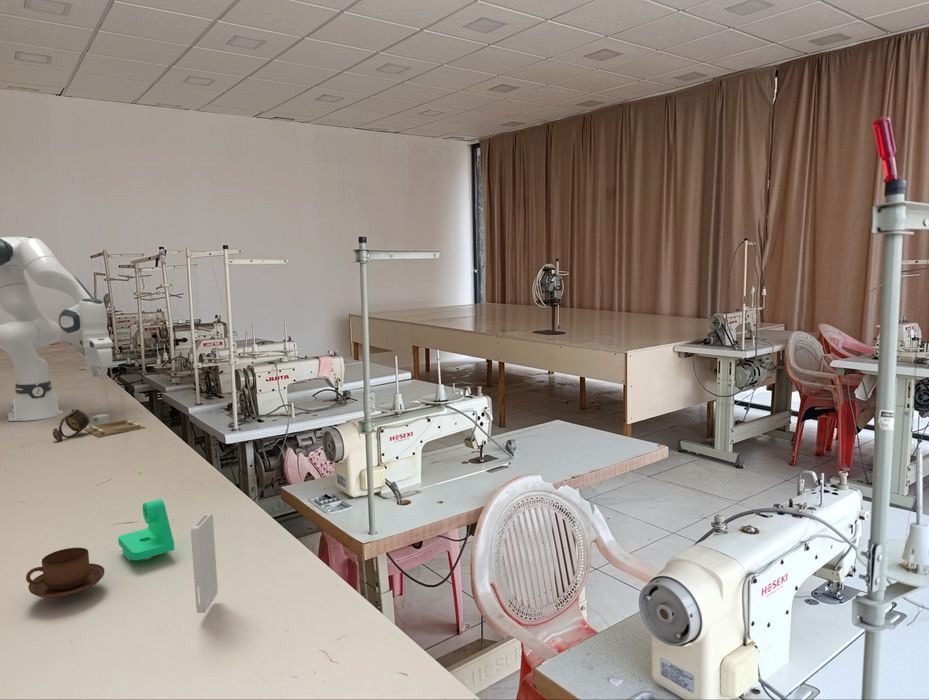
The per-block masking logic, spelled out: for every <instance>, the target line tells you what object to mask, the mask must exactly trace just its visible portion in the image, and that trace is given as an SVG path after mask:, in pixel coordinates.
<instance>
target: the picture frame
mask: <svg viewBox="0 0 929 700" xmlns="http://www.w3.org/2000/svg"><path fill="white" fill-rule="evenodd" d="M143 429H146V427H145V426H143V425H141V424H139V423H137V422H134V421H131V420H129V419H124V420H123V419H122V420H118V421H117V420H115V421H110V422H109V423H103V424H97V425H93V424H91V425H89V428H85V429H83V431H85V432H87V433H88V434H90V435H93V436H94V437H96V438H98V439H100V438H104V437H109V436H110V437H111V436H114V435H119V434H120V435H121V434H123V433H129V432H135V431H138V430H143Z"/></svg>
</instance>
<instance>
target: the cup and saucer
mask: <svg viewBox="0 0 929 700" xmlns="http://www.w3.org/2000/svg"><path fill="white" fill-rule="evenodd" d="M35 572H42V573H41V574H40V575H38V576H36V577H35V578H33V579H31V575H32V574H33V573H35ZM104 575H105V567H103V565H100V564H96V563H90V554H89V550H88V549H87V548H85V547H67V548H64V549H59V550H56V551H53V552H51V553H49V554H47V555H45V556H44V557H43V558H42V559H41V566H38V567H37V566H36V567H33V568H31V569H30V570H29V571H28V572H27V573H26V575H25V579H26V582H27V583H28V591H29V592H30V594H31V595H33V596H36V597H39V598H45V599H46V598H47V599H51V598H52V599H53V598H54V599H55V598H62V597H68V596H72V595H76V594H79V593H82V592H83V591H86V590H88V589H90V588H91V587H94V586H95V585H96V584H97V583H98V582H100V581H101V580H102V578H103V577H104Z"/></svg>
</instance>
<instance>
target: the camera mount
mask: <svg viewBox="0 0 929 700" xmlns="http://www.w3.org/2000/svg"><path fill="white" fill-rule="evenodd" d="M142 514H143V519H144V522H145V524H147V528H143V529H140V530H136V531H135V530H134V531H132V532H128V533H124V534H121V535H119V536H118V539H117V541H118V545H119V546H120V548H121V549H122V554H123V555H124V556H125V558H127V560H128V561H132V560H133V561H139V560H144V559H147V558H151V557H154V556H157V555H162V554H165V553H168V552H172V551H175V542H174V537H173V533H172V529H171V526H170V522H169V521H170V520H169V518H168V513H167V509H166V505H165V503H164V500H163V499H162V498H160V499H159V498H158V499H154V500H151V501H146V502H143V503H142Z"/></svg>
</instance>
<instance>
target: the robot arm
mask: <svg viewBox="0 0 929 700" xmlns="http://www.w3.org/2000/svg"><path fill="white" fill-rule="evenodd" d="M25 271H26V272H27V274H28V275H29V277H30V279H31V280H32V281H33V282H34V283H35V284H37V285H38V286H40V287H42V288H47V289H53V290H56V291H59V292H62V293H65V294H67V295H69V296H70V297H71V299H73V301H74V302H75V303H76V304H75V305H73V306H72V307H69V308H67V309H63V310H62V311H61V313H60V314H59V316H58V323H57V322H56V321H55V320H53V319H51V318H49V317H48V316H47V315H46V314H45V313H44V312H43V311H42V309H40V307H39V306H38V305H37V302H36V301H35V299H34V296H33V294H32V292H31V288H30V286H29V283H28V280H27V278H26V275H25ZM0 307H1V309H2V311H4V312H5V313H7V314H9V315H11V316H12V317H13V318H15V319H16V321H9V322H5V323H2V324H0V349H1V350H3V351H4V352H5V353H6V354H7V355H8V356H9V358H10V360H11V362H12V364H13V367H14V373H15V380H16V381H15V382H16V383H15V385H14V386H15V387H14V388H15V389H14V390H15V396H14V398H13V401H10V402H9V403H8V409H11V411H10V412H8V413H7V417H8V418H7V419H8V422H18V421H19V422H21V421H23V422H27V421H38V420H45V419H49V418H50V419H51V418H54V417H56V416H58V415H61V414H63V413H64V411H63V410H61V409H59V404H58V396H57V394H56V393H55V392H53V391H52V381H51V380H50V371H49V365H48V361H47V360H46V359H44V358H42V357H39V355H38V354H37V352H36V348H40V347H41V348H42V347H47V346H49V345H52V344H55V343H57V342H58V341H59V340H60V339H61V336H62V331H64V332H65V333H67V334H81V337H82V338H81V339H82V347H83V348H84V360H85V364H86V365H88V366H89V367H90V371H91V374H92V377H93V378H98V377H99V376H100V379H101V380H108V370H109V369H108V368H112V366H113V349H112V347H113V346H114V342H113V341H112V339H111V338H110V332H109V330H108V327H109V324H110V317H111V316H110V314H109V312H108V311H107V308H106V305H105V303H104V301H103V300H101V299H97V298H94V297H93V296H92V294H91V293H90V292H89V290H88V289H87V288H86V287H85V286H84V285H83V283H82V282H81V281H80V279H78V278H77V277H76V276H75V275H74V274H72V273H70V271H68V270H67V269H66V268H65V267H64V266H63V265H62V264H61V263H60V262H59V260H58V259H57V257H56V256H55V254H54V253H53V252H52V250H51V249H50V248H49V247H48V245H47V244H46V243H44V242H43V240H42V239H40V238H36V237H32V236H16V235H15V236H12V235H11V236H2V237H0ZM99 368H100V369H99ZM98 369H99V370H100V372H99V371H98ZM99 374H100V375H99Z"/></svg>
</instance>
